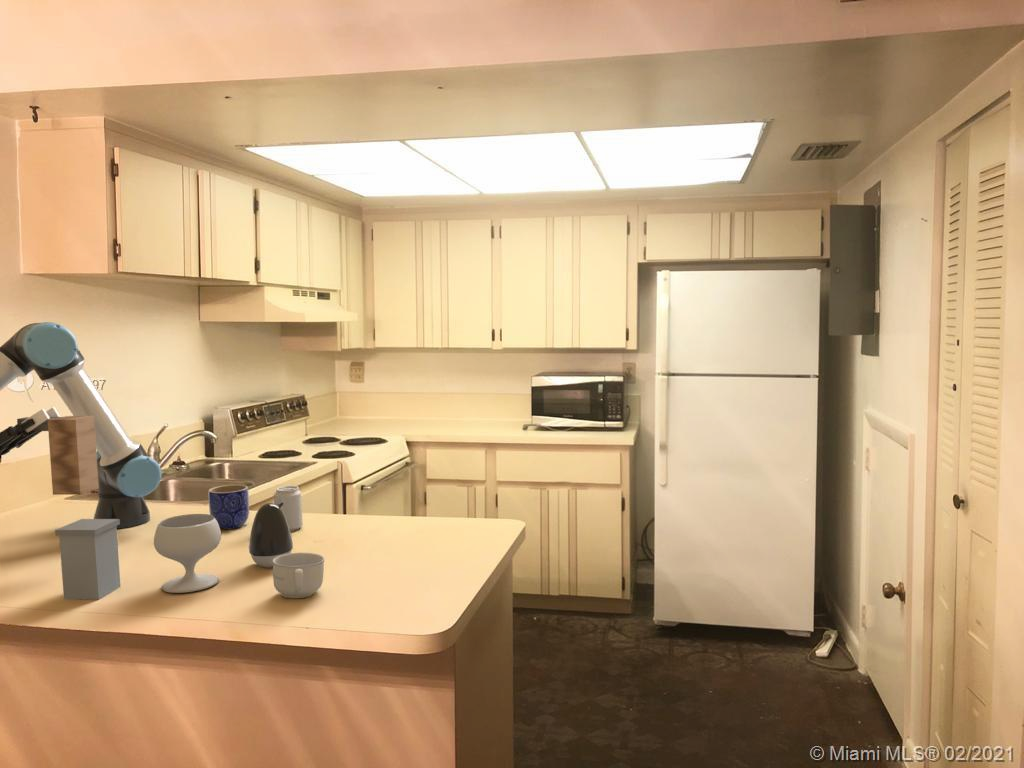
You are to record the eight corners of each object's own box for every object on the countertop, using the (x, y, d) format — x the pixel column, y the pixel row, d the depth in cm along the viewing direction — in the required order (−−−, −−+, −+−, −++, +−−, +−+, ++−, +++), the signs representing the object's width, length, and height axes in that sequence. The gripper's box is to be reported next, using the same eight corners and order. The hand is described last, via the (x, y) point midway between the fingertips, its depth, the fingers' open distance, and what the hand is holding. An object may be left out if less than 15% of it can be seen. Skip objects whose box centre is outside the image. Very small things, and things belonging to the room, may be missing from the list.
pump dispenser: (302, 559, 194) (299, 499, 193) (276, 572, 184) (273, 509, 183) (267, 556, 197) (264, 497, 196) (241, 568, 188) (237, 506, 186)
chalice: (196, 571, 186) (193, 509, 185) (236, 580, 179) (233, 516, 178) (143, 589, 174) (139, 524, 173) (184, 600, 167) (179, 531, 166)
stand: (60, 599, 169) (55, 529, 168) (86, 585, 178) (81, 518, 176) (99, 600, 168) (94, 530, 167) (123, 586, 177) (119, 519, 176)
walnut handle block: (16, 494, 187) (10, 420, 185) (36, 488, 194) (31, 416, 192) (80, 494, 185) (75, 419, 184) (98, 488, 192) (93, 415, 191)
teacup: (280, 586, 175) (278, 551, 174) (329, 584, 176) (327, 549, 175) (265, 609, 161) (263, 571, 160) (319, 607, 162) (317, 569, 161)
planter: (258, 524, 228) (256, 486, 227) (226, 533, 219) (224, 494, 218) (233, 519, 234) (231, 483, 233) (202, 528, 225) (200, 490, 224)
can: (295, 533, 218) (293, 490, 217) (270, 532, 220) (268, 490, 219) (307, 525, 225) (305, 485, 224) (283, 525, 227) (281, 484, 226)
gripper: (8, 467, 199) (80, 421, 196) (-42, 480, 183) (36, 431, 180) (-8, 442, 199) (65, 396, 196) (-59, 453, 183) (19, 403, 180)
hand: (51, 412), depth 188 cm, fingers closed on walnut handle block, 3 cm apart
